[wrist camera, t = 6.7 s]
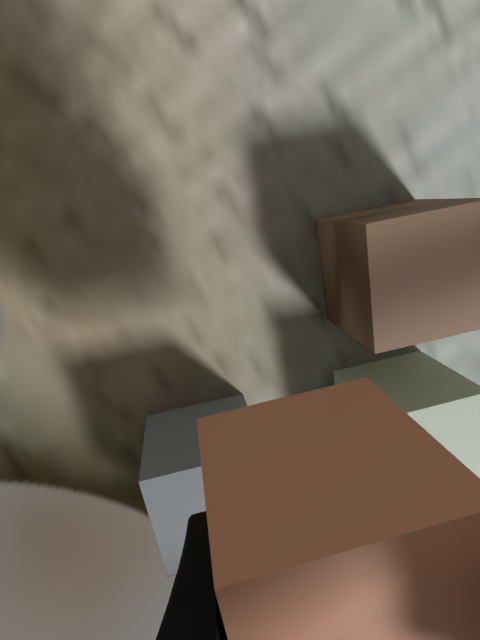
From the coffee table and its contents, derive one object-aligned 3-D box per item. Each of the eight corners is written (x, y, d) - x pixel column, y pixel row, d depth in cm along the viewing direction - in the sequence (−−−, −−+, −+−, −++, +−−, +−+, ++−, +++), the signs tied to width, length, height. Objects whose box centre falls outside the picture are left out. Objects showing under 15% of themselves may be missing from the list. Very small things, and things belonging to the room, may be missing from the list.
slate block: (256, 470, 22) (280, 545, 17) (168, 493, 21) (167, 576, 16) (242, 392, 20) (264, 450, 15) (146, 415, 20) (138, 481, 15)
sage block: (421, 427, 23) (486, 485, 18) (341, 448, 22) (386, 514, 17) (418, 350, 21) (489, 391, 16) (332, 370, 21) (379, 419, 16)
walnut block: (417, 297, 20) (491, 326, 15) (326, 318, 20) (374, 354, 15) (413, 199, 19) (495, 197, 14) (315, 218, 18) (365, 223, 13)
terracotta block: (377, 512, 13) (497, 694, 8) (229, 554, 12) (264, 775, 7) (366, 377, 11) (508, 503, 6) (196, 418, 11) (213, 589, 6)
